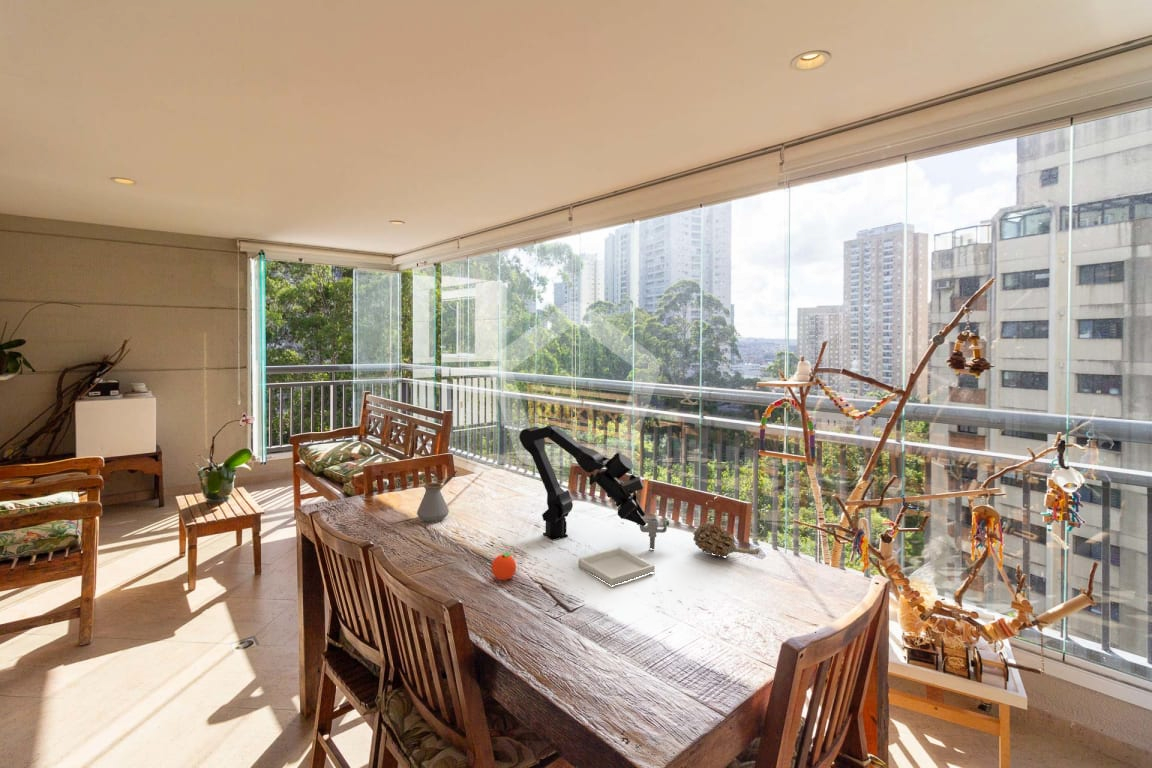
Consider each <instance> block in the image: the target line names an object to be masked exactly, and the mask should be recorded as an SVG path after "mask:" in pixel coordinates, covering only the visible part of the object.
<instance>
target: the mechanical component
mask: <svg viewBox="0 0 1152 768" xmlns="http://www.w3.org/2000/svg"><path fill="white" fill-rule="evenodd" d="M642 518H643V517H642ZM643 520H644V521H645V523H646V525H645V526H642V525H640V524H637V523H636V525H637V526H639V530H640V531H641V532H642V533H648V535H647V536H648V537H649V549H650V548H652V549H654V550H655V547H656V545H655V543H656V541H655V540H656V537H657V536H658V535H657V534H658V533H659V534H660V533H661V534H662V533H663V534H664V533H666V532H667V530H668V527H669V526H670V521H669V520H667V519H663V522H662V523H659V522H658V519H657V518H652V517H651V518H650V517H649V518H647V517H646V518H645V517H644V518H643Z"/></svg>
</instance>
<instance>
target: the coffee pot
mask: <svg viewBox="0 0 1152 768" xmlns="http://www.w3.org/2000/svg"><path fill="white" fill-rule="evenodd" d="M457 474H460V472H459V471H457V470H455V471H453V472H452V473H451V475H449V476H448V477H447V478H446V480H445V481H444V482H443V484H441V483H438V482H436V483H435V482H431V483H426V484H424V485H423V488H424V489H425V492H424V493H423V497H422V500H421V502H420V504H419V506H418V509H417V512H416V515H417V516H418V518H419V519H420V520H421V521H422V522H424V521H426V522H425V523H428V522H435V523H437V522H436V521H440V520H442V519H443V520H444V519H445V518H447V516H448V514H449V512H450V510H449V508H448V505H447V502H446V501H445V498H444V496H443V494H442V492H441V490H442V489H443V488H444V487H445V486H446V485H447V484H448V483H450V481H451V480H452V479H453V477H455V475H456V476H457ZM443 520H442V521H443ZM440 522H441V521H440Z"/></svg>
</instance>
